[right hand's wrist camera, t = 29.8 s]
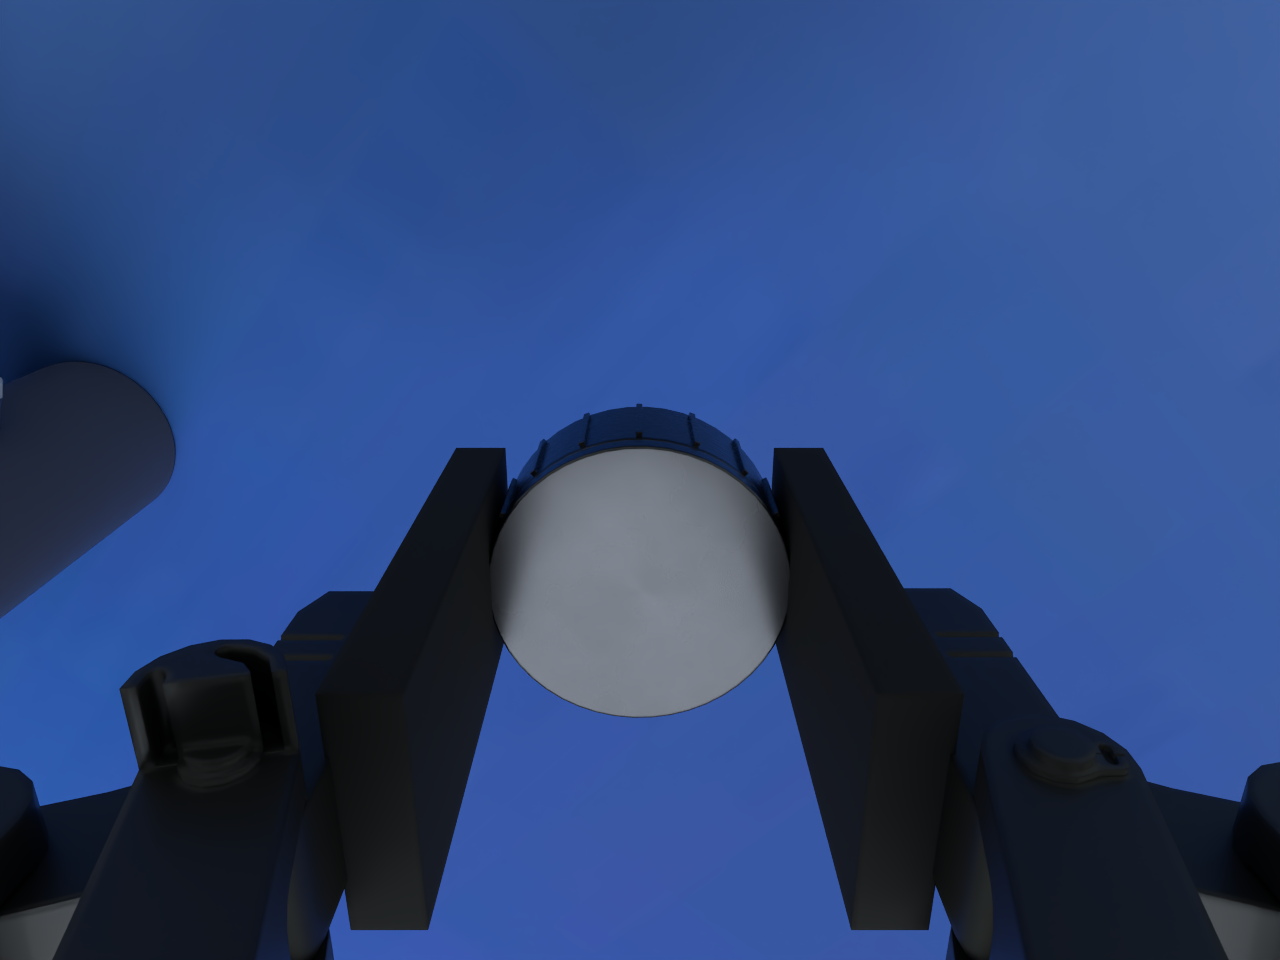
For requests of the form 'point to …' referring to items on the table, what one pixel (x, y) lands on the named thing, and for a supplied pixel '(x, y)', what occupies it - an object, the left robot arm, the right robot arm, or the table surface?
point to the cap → (639, 564)
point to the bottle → (73, 468)
